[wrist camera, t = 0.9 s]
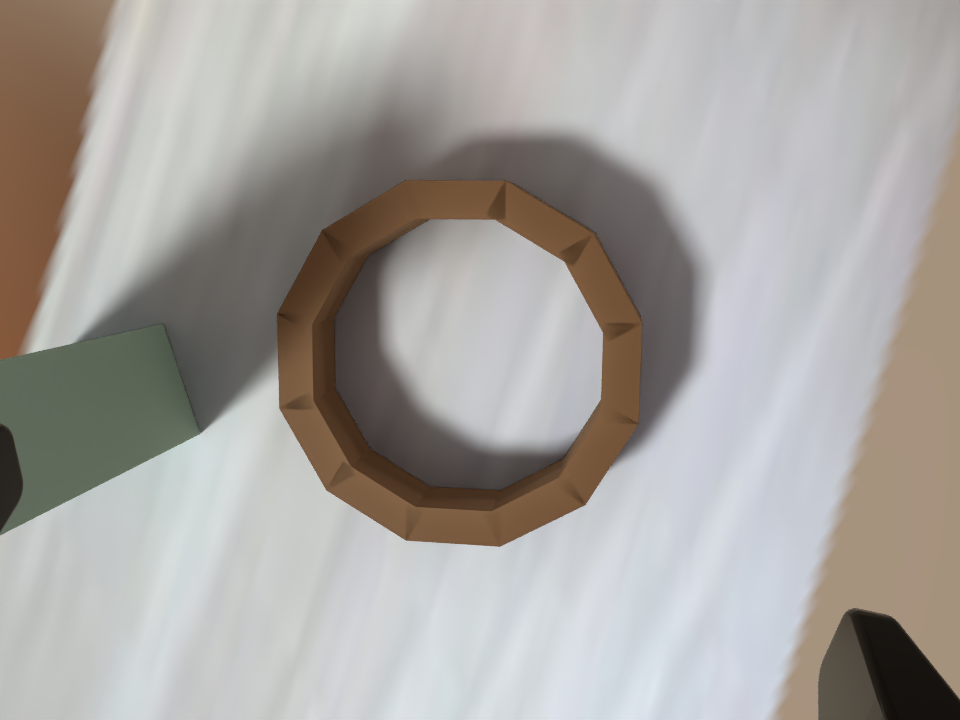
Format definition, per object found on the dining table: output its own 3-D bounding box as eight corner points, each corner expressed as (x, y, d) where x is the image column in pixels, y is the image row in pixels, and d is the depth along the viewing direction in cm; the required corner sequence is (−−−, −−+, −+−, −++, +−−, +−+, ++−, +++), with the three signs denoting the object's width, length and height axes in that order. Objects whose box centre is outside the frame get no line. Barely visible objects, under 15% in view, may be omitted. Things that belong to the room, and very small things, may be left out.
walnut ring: (405, 574, 28) (389, 600, 26) (243, 289, 27) (214, 294, 25) (701, 428, 26) (708, 445, 24) (532, 117, 25) (525, 108, 23)
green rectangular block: (199, 433, 28) (-60, 565, 17) (100, 461, 29) (-209, 605, 18) (163, 323, 28) (-126, 388, 17) (62, 354, 28) (-276, 435, 18)
